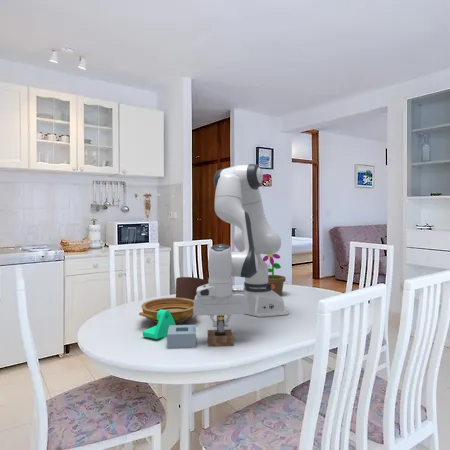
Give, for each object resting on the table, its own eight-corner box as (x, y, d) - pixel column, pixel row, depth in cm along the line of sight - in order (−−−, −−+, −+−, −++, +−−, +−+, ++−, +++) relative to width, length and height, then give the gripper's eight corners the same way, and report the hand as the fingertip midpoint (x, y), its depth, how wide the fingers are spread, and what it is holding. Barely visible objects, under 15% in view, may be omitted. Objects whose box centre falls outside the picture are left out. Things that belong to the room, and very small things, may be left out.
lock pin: (224, 339, 138) (224, 314, 137) (224, 342, 135) (224, 316, 134) (216, 339, 137) (216, 314, 137) (217, 342, 135) (217, 317, 134)
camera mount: (161, 329, 151) (161, 304, 150) (176, 332, 147) (176, 307, 146) (141, 338, 140) (141, 311, 140) (157, 342, 136) (156, 314, 136)
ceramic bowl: (159, 337, 140) (158, 317, 140) (124, 324, 157) (124, 305, 157) (214, 320, 162) (214, 302, 161) (178, 310, 178) (178, 293, 178)
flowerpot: (255, 295, 207) (256, 242, 206) (266, 291, 220) (266, 240, 218) (279, 299, 200) (279, 244, 198) (289, 293, 212) (289, 242, 211)
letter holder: (208, 307, 184) (208, 279, 184) (175, 302, 193) (175, 276, 192) (217, 302, 194) (217, 275, 193) (185, 298, 202) (185, 273, 201)
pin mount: (231, 337, 141) (231, 329, 141) (233, 345, 132) (233, 337, 132) (207, 337, 140) (207, 330, 140) (208, 346, 131) (208, 338, 131)
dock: (195, 337, 140) (195, 324, 140) (195, 347, 130) (195, 333, 130) (169, 338, 140) (169, 325, 139) (167, 348, 130) (167, 334, 129)
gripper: (247, 286, 139) (247, 322, 140) (193, 287, 138) (193, 324, 138) (249, 290, 133) (249, 328, 134) (192, 291, 131) (193, 329, 132)
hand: (220, 326), depth 136 cm, fingers closed on lock pin, 3 cm apart
